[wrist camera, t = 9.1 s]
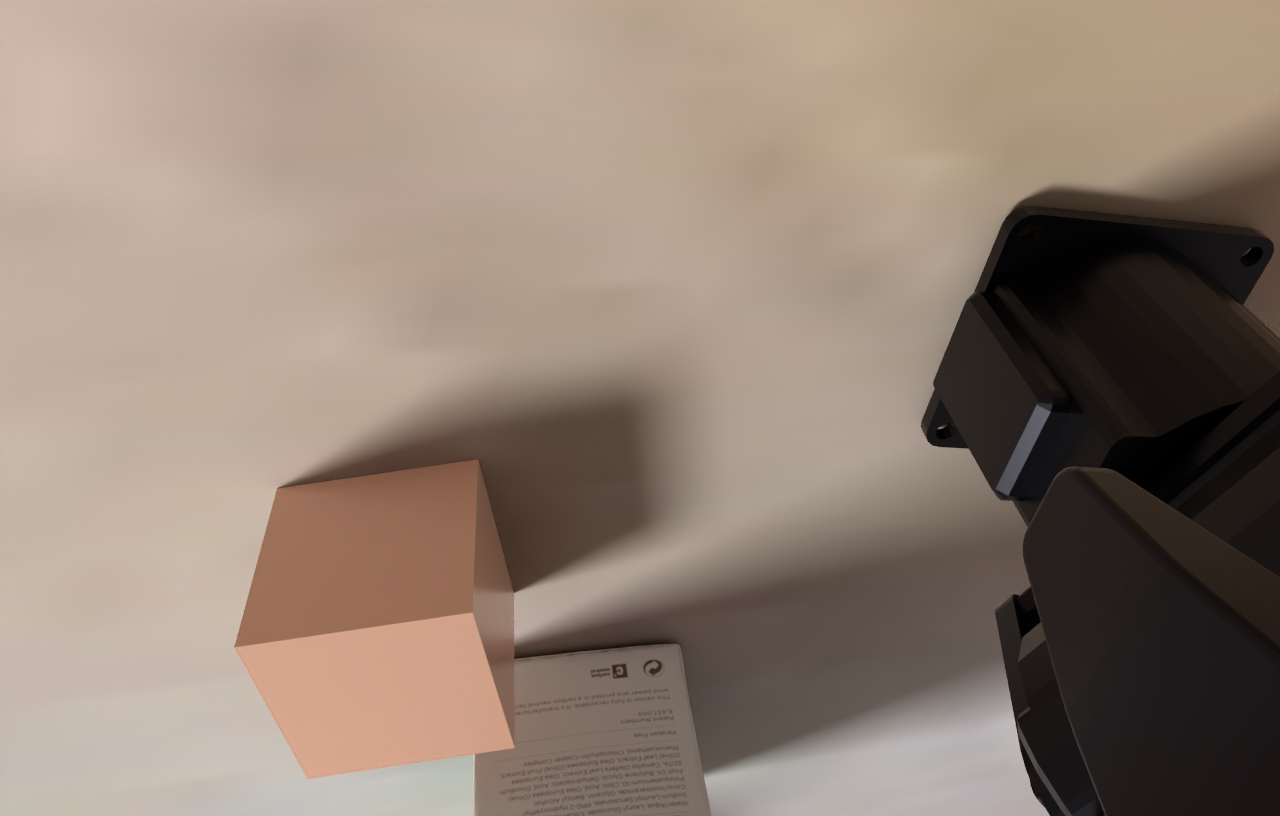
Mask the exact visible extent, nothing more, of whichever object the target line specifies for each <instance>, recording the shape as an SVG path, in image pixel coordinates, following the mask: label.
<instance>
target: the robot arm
mask: <svg viewBox="0 0 1280 816" xmlns="http://www.w3.org/2000/svg"><path fill="white" fill-rule="evenodd" d="M1029 225H1034V228H1033V229H1032V231H1031V232H1030V233H1029V234H1027V235H1026V236H1023V237H1019V234H1020V233H1021V231H1022V230H1023V229H1024V228H1025V227H1027V226H1029ZM1251 247H1252V248H1251ZM1250 248H1251V250H1250V251H1249V252H1248V253H1247V254H1246V255H1244V256H1242V254H1243V253H1244V252H1245V251H1246V250H1248V249H1250ZM1273 252H1274V246H1273V243H1272V242H1271V240H1270V239H1269V238H1268V237H1266V236H1265V235H1264V234H1263V233H1261V232H1260V231H1258V230H1255V229H1252V228H1242V227H1233V226H1223V225H1213V224H1203V223H1193V222H1184V221H1174V220H1164V219H1154V218H1144V217H1134V216H1125V215H1115V214H1105V213H1095V212H1085V211H1075V210H1066V209H1056V208H1046V207H1036V206H1026V207H1021V208H1019V209H1017V210H1014V211H1013V212H1012V213H1011V214H1010V215H1008V216H1007V217H1006V219H1005V221H1004V222H1003V224H1002V226H1001V228H1000V231H999V233H998V236H997V238H996V240H995V243H994V245H993V248H992V250H991V253H990V255H989V258H988V260H987V262H986V265H985V267H984V270H983V272H982V275H981V277H980V280H979V282H978V284H977V287H976V289H975V292H974V293H973V294H972V295H971V296H970V297H969V298H968V299H967V301H966V303H965V305H964V307H963V310H962V312H961V315H960V317H959V320H958V322H957V325H956V327H955V330H954V332H953V335H952V337H951V340H950V342H949V344H948V347H947V349H946V352H945V354H944V357H943V359H942V362H941V364H940V367H939V369H938V372H937V374H936V377H935V379H934V382H933V385H934V388H935V390H934V392H933V395H932V397H931V399H930V402H929V404H928V407H927V409H926V412H925V414H924V417H923V419H922V423H921V428H922V431H923V433H924V435H925V437H926V439H927V441H928V442H929V443H930V444H932V445H934V446H938V447H952V448H969V450H970V451H971V453H972V455H973V457H974V458H975V460H976V462H977V464H978V465H979V467H980V469H981V471H982V473H983V474H984V476H985V478H986V480H987V481H988V483H989V485H990V487H991V489H992V490H993V491H994V493H995V494H996V496H997V497H998V498H999V499H1000V500H1006V501H1013V502H1014V504H1015V506H1016V507H1017V509H1018V511H1019V513H1020V514H1021V516H1022V518H1023V520H1024V521H1025V523H1026V525H1027V526H1028V529H1027V531H1026V533H1025V537H1024V541H1023V557H1024V563H1025V566H1026V570H1027V574H1028V577H1029V581H1030V585H1031V586H1030V587H1029V588H1028V589H1027V590H1025V591H1024V592H1023V593H1022V594H1021V595H1020V596H1019V595H1016V594H1014V595H1012V596H1011V597H1010V598H1009V599H1008V600H1007V601H1006V602H1004V603H1003V604H1002V605H1001V606H1000V607H999V608H997V609H996V610H995V615H996V620H997V625H998V631H999V636H1000V642H1001V647H1002V652H1003V658H1004V663H1005V668H1006V674H1007V679H1008V685H1009V690H1010V695H1011V701H1012V706H1013V712H1014V717H1015V722H1016V728H1017V733H1018V739H1019V744H1020V749H1021V754H1022V757H1023V760H1024V764H1025V767H1026V771H1027V773H1028V775H1029V778H1030V783H1031V787H1032V790H1033V793H1034V794H1035V796H1036V798H1037V799H1038V800H1039V802H1040V803H1041V804H1042V805H1043V806H1044V807H1045V808H1046V810H1047V811H1048V813H1049V814H1050V816H1280V338H1279V337H1278V336H1276V335H1275V334H1274V333H1273V332H1272V331H1271V330H1270V329H1269V328H1268V327H1267V326H1266V325H1264V324H1263V323H1262V322H1261V321H1260V320H1259V319H1258V318H1257V317H1256V316H1255V315H1254V314H1252V313H1251V312H1250V311H1249V310H1248V309H1247V308H1246V307H1245V306H1244V305H1243V304H1244V302H1245V301H1246V299H1247V297H1248V296H1249V294H1250V292H1251V291H1252V289H1253V287H1254V286H1255V284H1256V282H1257V281H1258V279H1259V277H1260V276H1261V274H1262V272H1263V271H1264V269H1265V267H1266V266H1267V264H1268V262H1269V261H1270V259H1271V257H1272V254H1273ZM1241 256H1242V257H1241ZM948 423H949V424H948ZM943 424H948V425H947V426H946V427H944V428H943V429H938V428H939V427H940V426H942V425H943Z"/></svg>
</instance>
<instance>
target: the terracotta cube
mask: <svg viewBox="0 0 1280 816" xmlns="http://www.w3.org/2000/svg"><path fill="white" fill-rule="evenodd" d="M234 648H235V649H236V651H237V653H238V655H239V657H240V658H241V660H242V662H243V664H244V665H245V667H246V669H247V671H248V673H249V674H250V676H251V678H252V680H253V682H254V683H255V685H256V687H257V689H258V691H259V692H260V694H261V696H262V698H263V700H264V701H265V703H266V705H267V707H268V709H269V710H270V712H271V714H272V716H273V718H274V719H275V721H276V723H277V725H278V727H279V728H280V730H281V732H282V734H283V736H284V737H285V739H286V741H287V743H288V745H289V746H290V748H291V750H292V752H293V754H294V755H295V757H296V759H297V761H298V763H299V764H300V766H301V768H302V770H303V772H304V773H305V775H306V777H307V779H311V778H317V777H324V776H331V775H337V774H344V773H351V772H358V771H364V770H371V769H378V768H384V767H391V766H398V765H404V764H411V763H418V762H424V761H431V760H438V759H445V758H451V757H458V756H465V755H471V754H478V753H485V752H491V751H498V750H505V749H511V748H515V704H514V592H513V588H512V584H511V580H510V577H509V573H508V569H507V565H506V562H505V558H504V554H503V550H502V547H501V543H500V539H499V535H498V532H497V528H496V524H495V520H494V517H493V513H492V509H491V505H490V502H489V498H488V494H487V490H486V487H485V483H484V479H483V475H482V472H481V468H480V464H479V461H478V459H476V460H469V461H462V462H455V463H448V464H441V465H435V466H428V467H421V468H414V469H407V470H400V471H393V472H386V473H379V474H372V475H366V476H359V477H352V478H345V479H338V480H331V481H324V482H317V483H310V484H304V485H297V486H290V487H283V488H277V491H276V495H275V499H274V502H273V506H272V510H271V513H270V517H269V521H268V525H267V528H266V532H265V536H264V539H263V543H262V547H261V551H260V554H259V558H258V562H257V565H256V569H255V573H254V577H253V580H252V584H251V588H250V592H249V595H248V599H247V603H246V606H245V610H244V614H243V618H242V621H241V625H240V629H239V632H238V636H237V640H236V644H235V647H234Z"/></svg>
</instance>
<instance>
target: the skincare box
mask: <svg viewBox="0 0 1280 816" xmlns="http://www.w3.org/2000/svg"><path fill="white" fill-rule="evenodd" d="M514 704H515V748H511V749H505V750H498V751H491V752H485V753H478V754H473V816H711V811H710V806H709V801H708V796H707V791H706V785H705V780H704V775H703V770H702V764H701V759H700V754H699V748H698V743H697V738H696V733H695V727H694V722H693V717H692V712H691V706H690V701H689V696H688V690H687V684H686V677H685V671H684V664H683V658H682V651H681V647H680V646H679V645H678V644H658V645H644V646H633V647H623V648H613V649H603V650H592V651H581V652H572V653H563V654H554V655H545V656H537V657H528V658H519V659H514Z"/></svg>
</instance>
